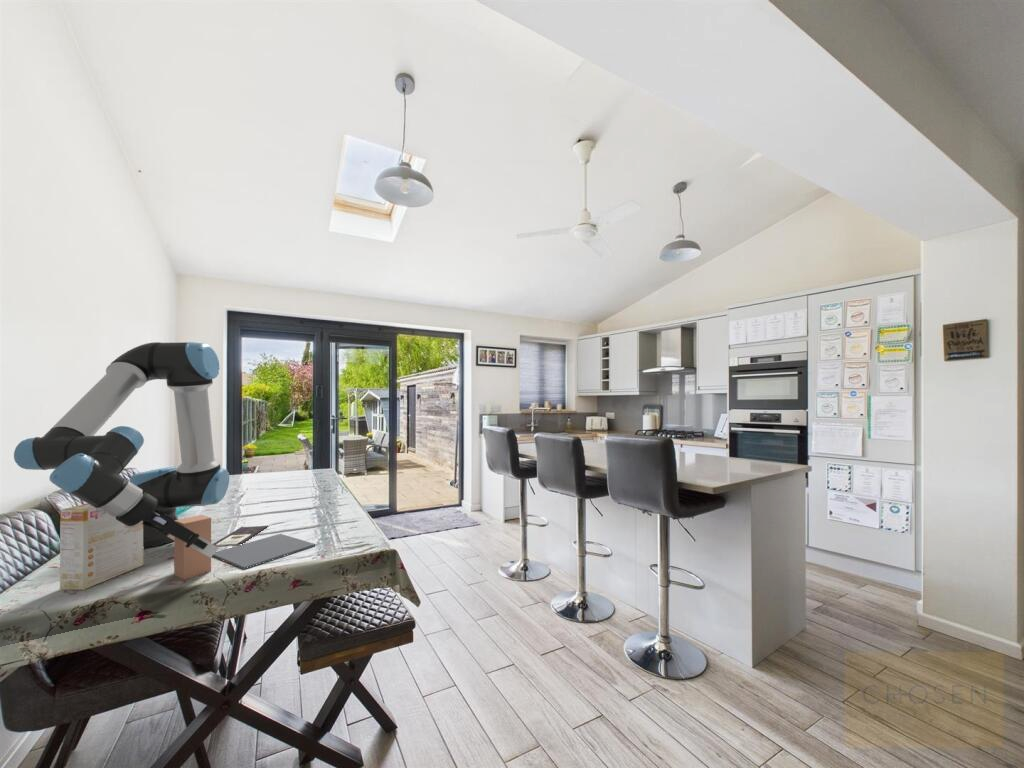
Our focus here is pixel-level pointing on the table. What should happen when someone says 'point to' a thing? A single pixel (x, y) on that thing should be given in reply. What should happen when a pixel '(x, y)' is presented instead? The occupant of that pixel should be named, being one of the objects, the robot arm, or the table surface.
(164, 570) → the table surface
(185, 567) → the wooden block
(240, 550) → the rubber mat
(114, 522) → the coffeecake box
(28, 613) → the table surface
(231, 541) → the chocolate bar
